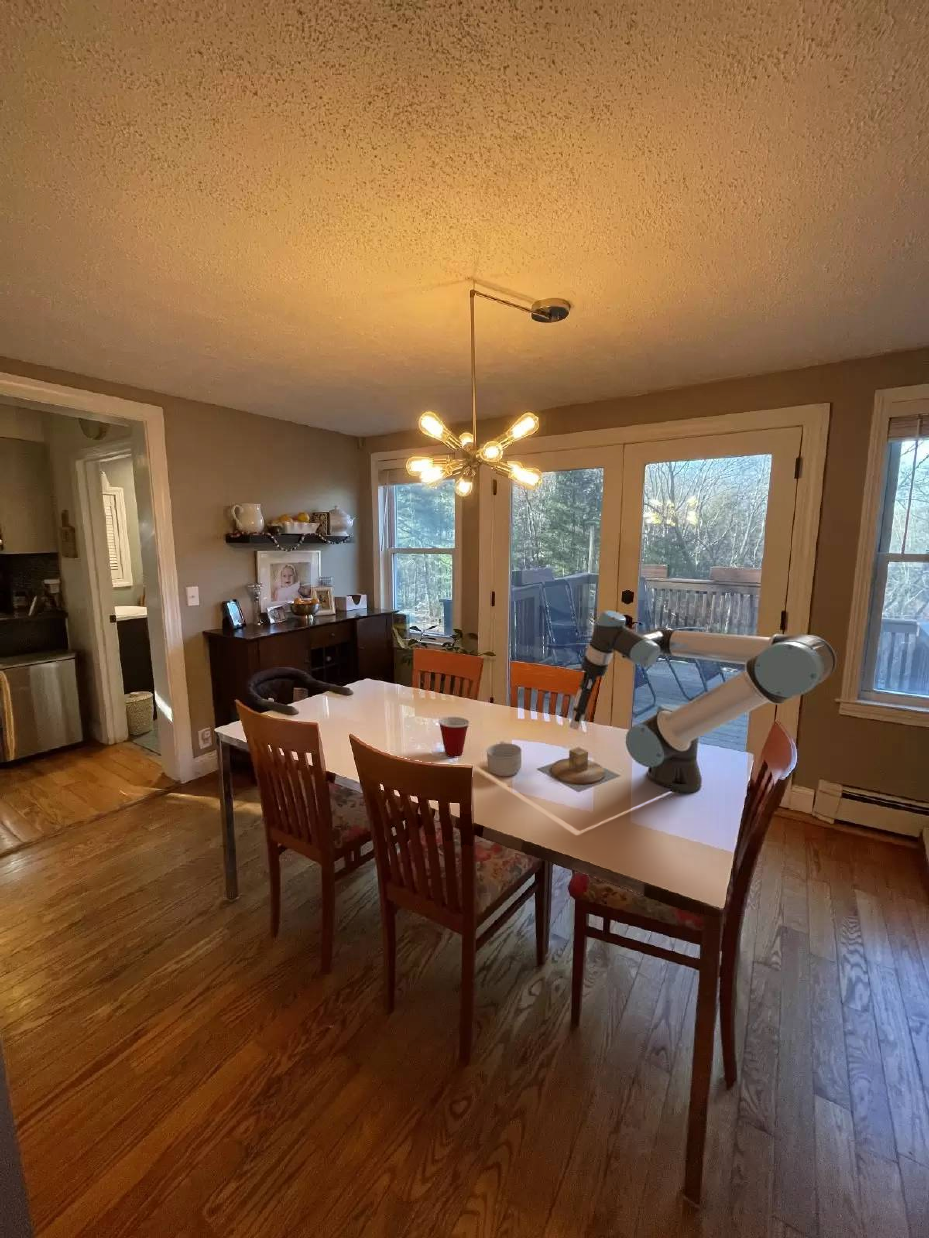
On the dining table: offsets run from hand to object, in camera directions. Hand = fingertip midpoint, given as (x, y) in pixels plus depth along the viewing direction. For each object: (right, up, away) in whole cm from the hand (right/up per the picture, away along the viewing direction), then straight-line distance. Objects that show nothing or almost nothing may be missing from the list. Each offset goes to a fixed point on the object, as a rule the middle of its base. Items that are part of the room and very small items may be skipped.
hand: (575, 716), depth 164 cm
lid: (0, -16, -5) cm, 17 cm away
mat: (0, -17, -4) cm, 18 cm away
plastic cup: (-39, -15, +12) cm, 43 cm away
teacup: (-23, -17, -1) cm, 28 cm away
